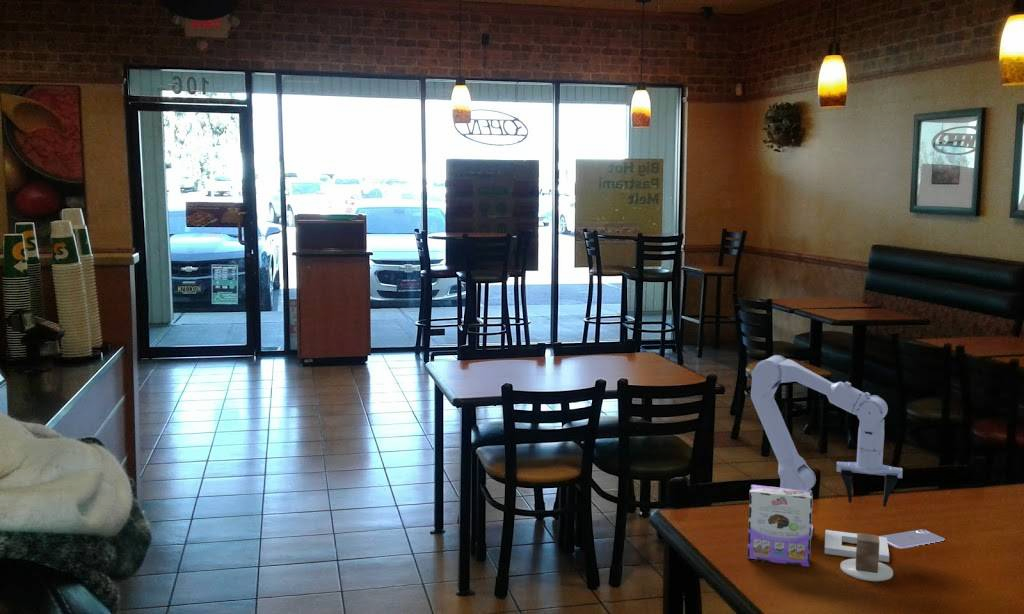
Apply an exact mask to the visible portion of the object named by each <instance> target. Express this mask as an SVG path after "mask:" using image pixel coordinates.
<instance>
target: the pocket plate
mask: <svg viewBox="0 0 1024 614" xmlns="http://www.w3.org/2000/svg"><path fill="white" fill-rule="evenodd" d="M824 532H825V533H824V555H831V556H839V557H847V558H853V559H855V558H856V547H857V546H849V545H843V543H847V544H848V543H850V544H856V545H857V533H854V532H846V531H838V530H830V529H825V531H824ZM878 536H879V535H878ZM880 536H881V535H880ZM880 536H879V542H880V543H879V560H878V562H884V563H885V562H886V563H890V552H889V551H890V550H889V544H888V542H887V537H880Z"/></svg>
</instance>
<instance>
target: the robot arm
mask: <svg viewBox="0 0 1024 614" xmlns="http://www.w3.org/2000/svg"><path fill="white" fill-rule="evenodd" d="M753 368H754V369H753V370H752V371H751V373H750V375H751V385H750V386H751V388H750V399H751V402H752V404H753V406H754V408H755V411H756V413H757V416H758V418H759V420H760V422H761V425H762V428H763V430H764V431H765V435H766V436H767V439H768V441H769V443H770V446H771V449H772V451H773V453H774V455H775V457H776V460H777V462H778V468H777V469H778V470H777V474H778V476H779V479H780V482H779V483H780V484H779V487H780V488H790V489H800V490H811V489H812V488H813V487H814V486H815V484H816V481H817V479H816V474H815V472H814V471H813V469H811V468H810V467H809V466H808V464H807V462H806V460H805V459H804V457H802V456H801V455H799V453H798V451H797V448H796V446H795V444H794V441H793V439H792V436H791V433H790V431H789V429H788V427H787V425H786V423H785V420H784V418H783V415H782V413H781V411H780V408H779V405H778V404H777V402H776V400H775V393H776V392H777V389H778V388H779V385H780V384H783V383H785V384H786V383H792V382H793V383H794V382H795V383H796V382H797V383H798V384H801V385H803V386H805V387H807V388H810V389H812V390H814V391H817V392H818V393H821V394H823V395H826V397H827V399H828V402H829V403H830V404H833V405H834V406H836V407H838V408H840V409H842V410H844V411H846V412H847V413H850V414H853V415H855V416H856V417H857V419H858V420H859V425H858V431H857V450H856V461H836V472H838V473H841V474H840V476H841V478H842V481H843V483H844V487H845V489H846V492H847V498H848V502H847V503H850V504H851V503H853V501H852V500H853V499H852V498H853V497H852V496H853V495H852V490H853V489H852V487H853V485H852V484H853V473H855V474H856V473H857V474H864V475H865V474H866V475H875V476H884V484H883V485H884V489H883V494H882V495H883V497H882V507H887V504H888V500H889V498H890V495H891V494H892V491H893V490H894V487H895V486H896V485H897V482H898V479H903V468H902V467H896V466H895V467H894V466H890V465H885V464H883V463H884V462H883V459H884V444H885V443H884V442H885V419H884V418H885V417H886V415H887V414H888V411H889V410H888V409H889V407H888V404H887V402H886V401H885V400H884V399H883V398H882V397H880V396H879V395H875V394H873V395H871V393H869V392H868V391H866V392H864V391H861V390H859V389H858V388H855V387H853V386H852V383H851V382H849V381H845V382H843V381H838V382H832V381H830V380H828V379H827V378H824V377H823V376H821V375H819V374H817V373H816V372H813V371H812V370H810V369H808V368H806V367H804V366H803V365H801V364H799V363H797V362H796V361H794V360H792V359H790V358H785V357H784V356H782V355H779V354H774V355H772V356H771V355H770V357H768V358H766V359H764V360H763V359H762V360H760V361H759V362H758V363H756V365H755V366H754V367H753ZM813 497H814V496H813V494H812V502H813V500H814V498H813ZM813 530H814V525H813V524H812V527H811V538H812V537H813V532H814V531H813Z"/></svg>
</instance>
